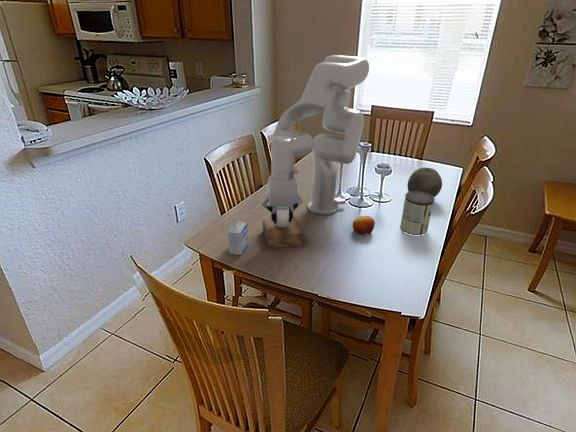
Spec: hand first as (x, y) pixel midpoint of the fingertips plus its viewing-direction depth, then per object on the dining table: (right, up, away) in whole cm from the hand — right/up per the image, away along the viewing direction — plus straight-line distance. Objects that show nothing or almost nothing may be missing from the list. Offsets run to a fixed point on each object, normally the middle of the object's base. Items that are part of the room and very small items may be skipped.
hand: (282, 220), depth 133 cm
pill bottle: (0, -1, +1) cm, 1 cm away
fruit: (+30, -5, +8) cm, 32 cm away
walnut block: (0, -6, +3) cm, 7 cm away
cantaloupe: (+62, +8, +34) cm, 71 cm away
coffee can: (+50, -4, +11) cm, 52 cm away
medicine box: (-15, -10, -3) cm, 18 cm away
